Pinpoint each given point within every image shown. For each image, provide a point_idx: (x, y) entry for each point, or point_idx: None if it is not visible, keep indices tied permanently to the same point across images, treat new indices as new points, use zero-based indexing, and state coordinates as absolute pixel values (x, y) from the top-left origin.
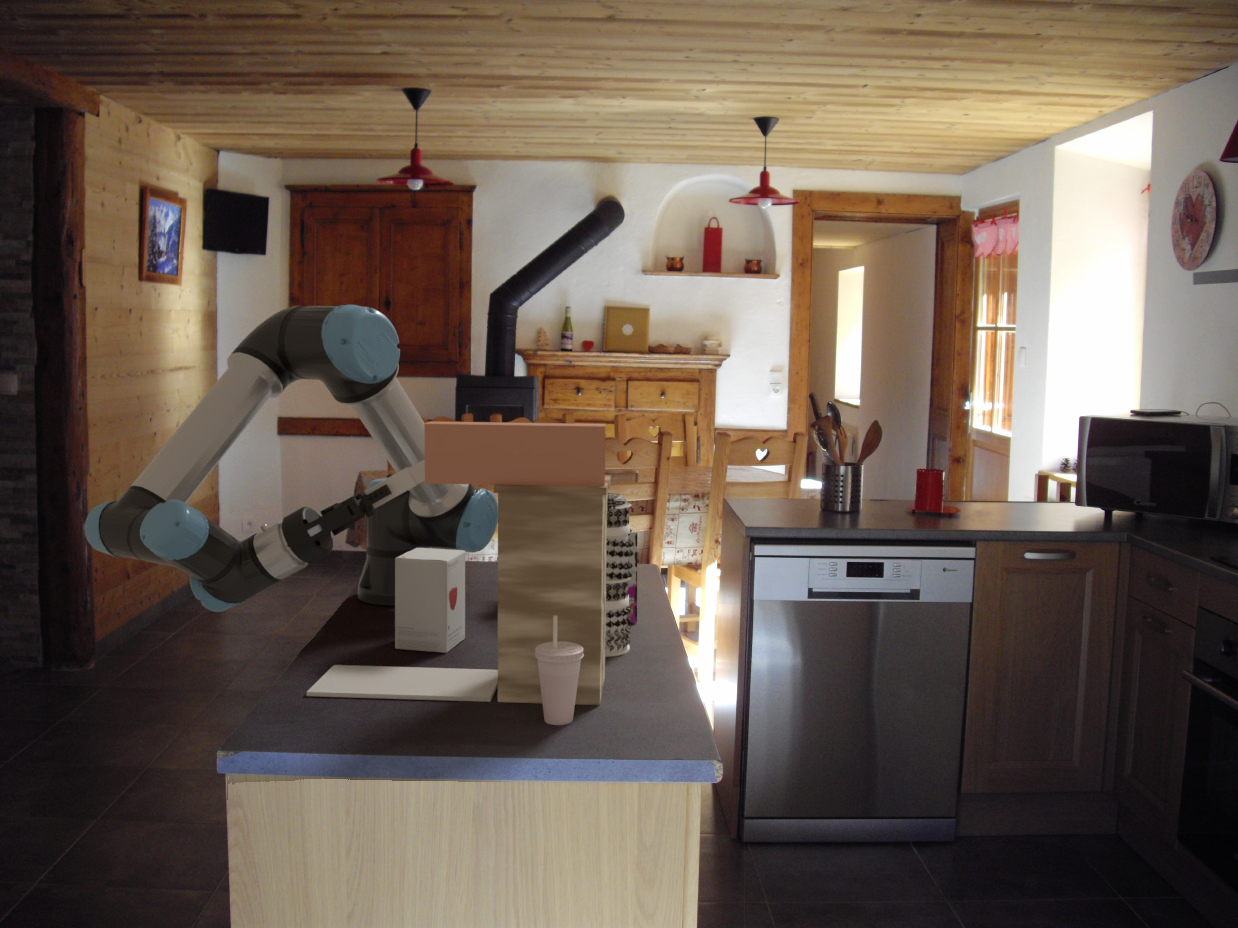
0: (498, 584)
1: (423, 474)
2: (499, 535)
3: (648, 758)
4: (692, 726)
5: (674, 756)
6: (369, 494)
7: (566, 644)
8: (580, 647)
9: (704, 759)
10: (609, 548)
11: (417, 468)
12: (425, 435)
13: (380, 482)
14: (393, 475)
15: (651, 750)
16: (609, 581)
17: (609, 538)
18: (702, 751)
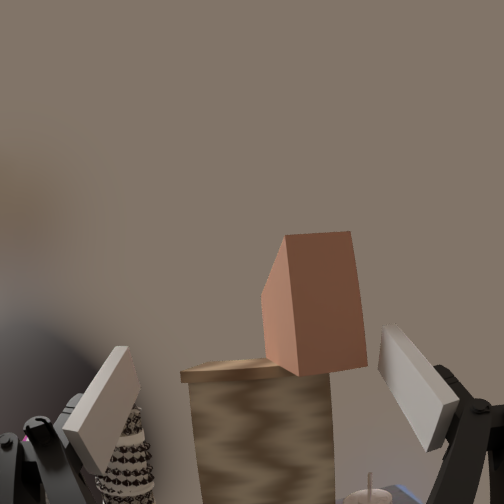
0: (334, 495)
1: (124, 400)
2: (332, 433)
3: (409, 497)
4: (343, 500)
5: (398, 492)
6: (468, 394)
7: (351, 500)
8: (356, 492)
9: (394, 485)
10: (144, 452)
11: (116, 384)
12: (353, 256)
13: (430, 365)
14: (411, 343)
15: (396, 501)
16: (153, 483)
17: (142, 442)
18: (383, 488)
